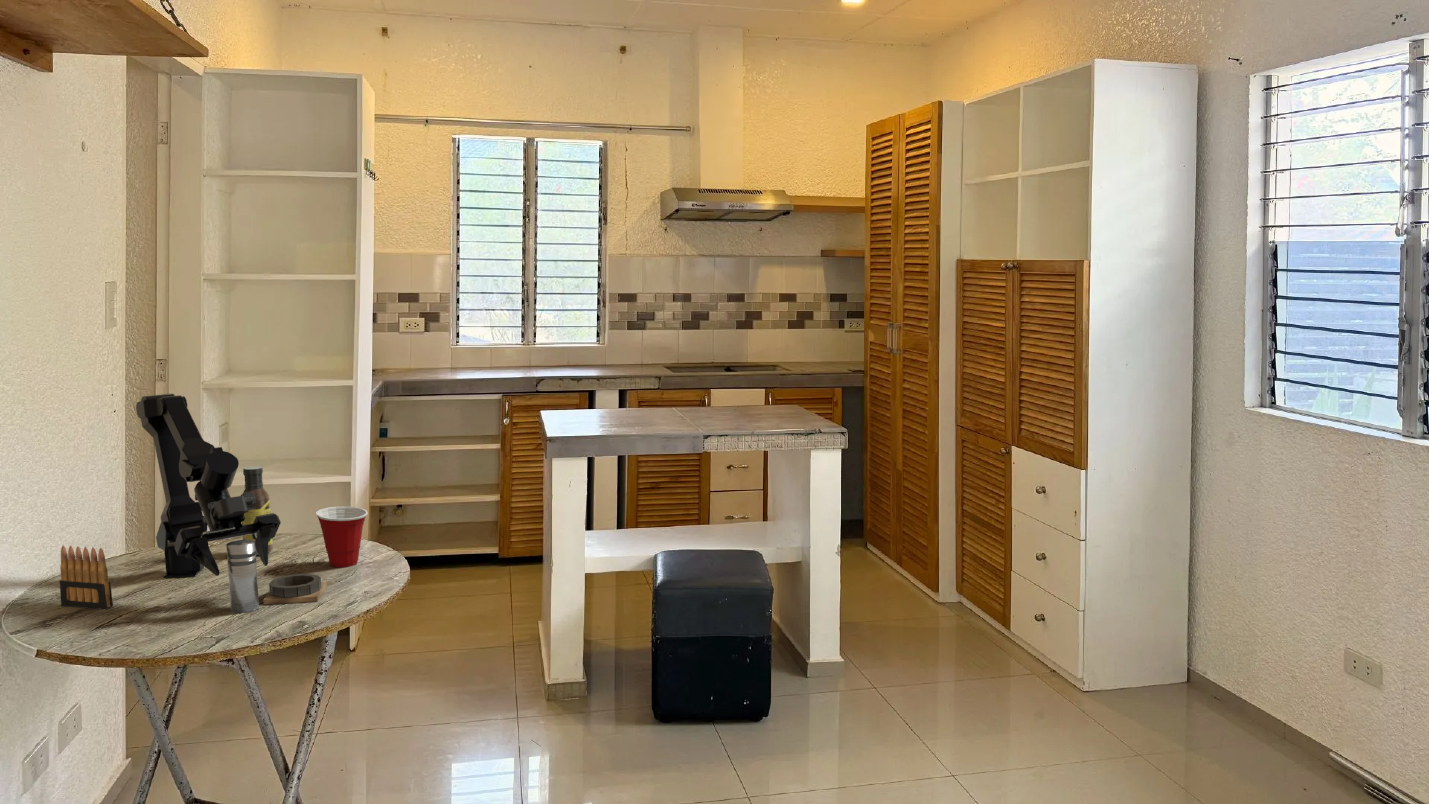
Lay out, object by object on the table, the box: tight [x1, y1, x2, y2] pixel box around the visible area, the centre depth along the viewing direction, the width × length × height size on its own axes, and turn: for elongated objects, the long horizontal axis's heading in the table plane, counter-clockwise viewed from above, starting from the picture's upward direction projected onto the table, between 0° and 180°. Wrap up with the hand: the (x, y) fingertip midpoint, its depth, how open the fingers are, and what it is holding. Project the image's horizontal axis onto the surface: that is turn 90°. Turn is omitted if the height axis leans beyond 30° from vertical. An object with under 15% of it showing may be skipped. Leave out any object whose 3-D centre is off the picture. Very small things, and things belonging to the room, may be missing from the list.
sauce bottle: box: [241, 465, 274, 556], centre depth 251 cm, size 6×6×20 cm
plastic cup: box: [315, 505, 369, 568], centre depth 242 cm, size 11×11×12 cm
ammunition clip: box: [59, 544, 114, 610], centre depth 214 cm, size 11×2×12 cm, turn 76°
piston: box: [226, 539, 260, 614], centre depth 212 cm, size 5×5×13 cm
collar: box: [263, 573, 328, 605], centre depth 220 cm, size 10×10×3 cm
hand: (242, 569), depth 211 cm, fingers open, 9 cm apart
